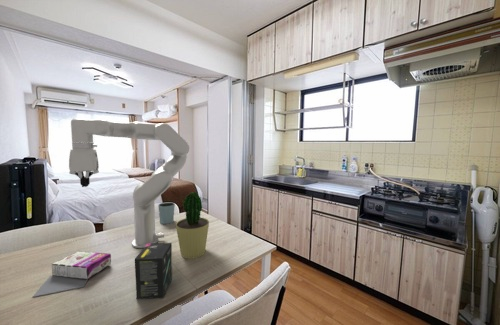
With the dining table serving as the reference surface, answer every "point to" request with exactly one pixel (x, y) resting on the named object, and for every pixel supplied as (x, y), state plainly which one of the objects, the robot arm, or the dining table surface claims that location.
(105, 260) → the candy bar box
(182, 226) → the potted cactus
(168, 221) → the blue grey cup
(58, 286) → the mat
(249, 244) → the dining table surface
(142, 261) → the tampon box
